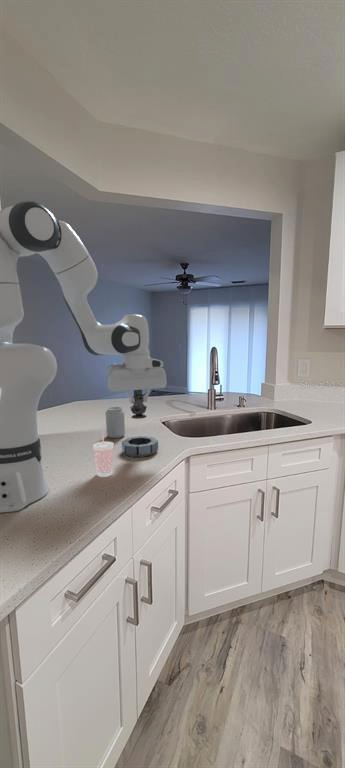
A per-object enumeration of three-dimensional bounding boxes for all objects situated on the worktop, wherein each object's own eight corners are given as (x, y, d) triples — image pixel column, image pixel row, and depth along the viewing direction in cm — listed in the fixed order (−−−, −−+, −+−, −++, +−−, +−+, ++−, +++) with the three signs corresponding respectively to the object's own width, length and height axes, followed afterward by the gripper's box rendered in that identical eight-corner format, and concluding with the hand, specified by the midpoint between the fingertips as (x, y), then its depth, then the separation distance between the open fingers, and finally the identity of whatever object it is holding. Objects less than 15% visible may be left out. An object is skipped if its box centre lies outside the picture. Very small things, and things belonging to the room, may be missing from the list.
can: (127, 433, 143) (125, 405, 142) (122, 439, 136) (121, 409, 134) (109, 433, 144) (108, 406, 142) (104, 438, 136) (103, 409, 135)
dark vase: (145, 418, 115) (143, 384, 113) (128, 418, 116) (126, 384, 114) (149, 415, 121) (147, 381, 119) (133, 415, 122) (131, 381, 120)
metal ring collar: (127, 459, 112) (127, 448, 112) (119, 448, 123) (119, 438, 123) (161, 454, 116) (161, 443, 116) (151, 444, 128) (151, 434, 127)
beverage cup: (93, 471, 102) (90, 426, 101) (113, 468, 105) (111, 424, 103) (96, 479, 97) (93, 431, 95) (117, 475, 99) (115, 429, 97)
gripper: (108, 364, 109) (110, 406, 111) (167, 361, 116) (168, 401, 118) (104, 363, 115) (106, 403, 117) (161, 360, 122) (162, 398, 124)
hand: (138, 402), depth 118 cm, fingers closed on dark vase, 3 cm apart
